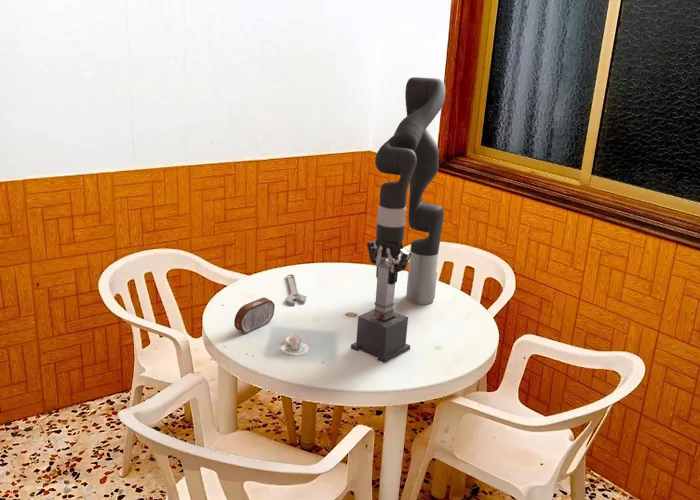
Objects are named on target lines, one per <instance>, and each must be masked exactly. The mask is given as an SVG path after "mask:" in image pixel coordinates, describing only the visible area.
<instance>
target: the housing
mask: <svg viewBox="0 0 700 500" xmlns="http://www.w3.org/2000/svg"><path fill="white" fill-rule="evenodd" d="M374 309H375V308H374ZM374 309H371V310H369V311H366V312H364V313H362V314H360V315H358V316H357V329H356V342H354V343H352V344H351V345H350V348H351V350H354V351H357V352H358V351H361V352H363V353H365V354H368V355H370V356H372V357H375V358H376V359H377V362H380V363H382V364H386V363H388V362H390V361H391V360H393V359H395V358H397V357H398V356H401V355H402V354H404V353H406V352H408V351H410V350H411V345H410V344H408V343H406V342H407V333H408V325H409V324H408V323H409V317H408V316H406V315H403V314H401V313H398V312H396V311H394V312H393V314H392V316H393V319H392V320H390V321H388V322H382V321H380V320H379V316H377V315H374V314H375V312H374Z"/></svg>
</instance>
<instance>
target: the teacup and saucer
mask: <svg viewBox="0 0 700 500" xmlns="http://www.w3.org/2000/svg"><path fill="white" fill-rule="evenodd" d="M283 341H284V343H283V344H282V345H281V346H280V350H281V352H282V353H285V355H286V354H287V355H290V356H299V355H301V356H302V355H305V354H306V353H308V352H309V351H310V347H309V345H308V344H306V343H305V342H302V336H301V334H297V333H293V334H291V335H289V336H286V337H284V340H283ZM287 346H290V348H291V350H292V351H298V350H300V348H301V346H303V348H304V350H303V351H301V352H296V353H294V352H289V351H288V350H286V348H287Z"/></svg>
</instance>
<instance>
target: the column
mask: <svg viewBox="0 0 700 500" xmlns="http://www.w3.org/2000/svg"><path fill="white" fill-rule="evenodd" d="M394 266H395V265H394ZM390 272H391V271H390V264H389V263H388V259H386V261H383V262H381V263H378V275H377V277H376V289H375V290H376V291H375V301H374V312H375V314H374V315H377V316H379V320H380V321H382V322H388V321H390V320H392V319H393V316H392V314H393V312H395V311H394V306H395V288H396V283H395V284H393V285H390V284H389V279H390Z"/></svg>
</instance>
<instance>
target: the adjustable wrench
mask: <svg viewBox="0 0 700 500" xmlns="http://www.w3.org/2000/svg"><path fill="white" fill-rule="evenodd" d="M289 276H291V277H289ZM286 279H288V280H287V284H288V283H289V284H288V288H289V292H290V294H288V295H289V296H286V304H287V305H288V306H290V307H295V306H296V302H298V303H300V304H301V305H305V304H306V300H307V296H306V295H304V294H301V293H300V292H299V290H298V287H297V282H296V276H295V275H294V274H287V275H286Z"/></svg>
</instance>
